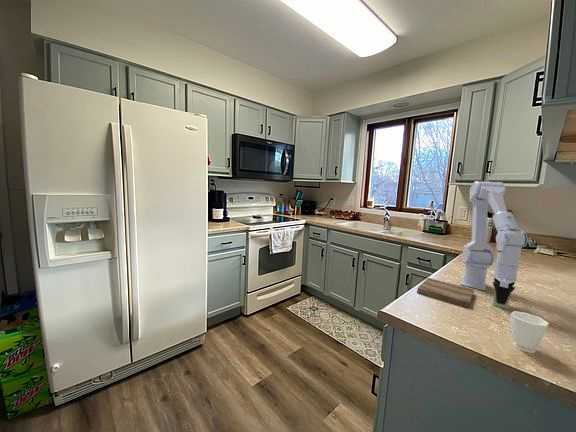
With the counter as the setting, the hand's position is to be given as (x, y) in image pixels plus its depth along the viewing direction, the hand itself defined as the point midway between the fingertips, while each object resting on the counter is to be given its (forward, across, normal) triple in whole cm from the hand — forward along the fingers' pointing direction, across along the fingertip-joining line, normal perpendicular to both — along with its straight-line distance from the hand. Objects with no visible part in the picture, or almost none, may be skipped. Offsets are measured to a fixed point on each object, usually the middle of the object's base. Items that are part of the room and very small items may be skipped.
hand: (500, 301), depth 86 cm
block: (+1, 0, 0) cm, 1 cm away
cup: (+2, +26, +5) cm, 27 cm away
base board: (+1, +4, -16) cm, 17 cm away
